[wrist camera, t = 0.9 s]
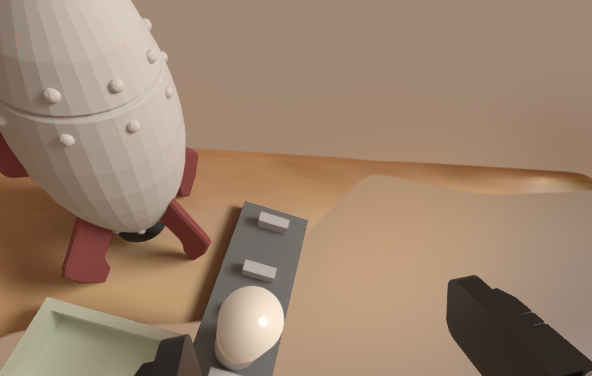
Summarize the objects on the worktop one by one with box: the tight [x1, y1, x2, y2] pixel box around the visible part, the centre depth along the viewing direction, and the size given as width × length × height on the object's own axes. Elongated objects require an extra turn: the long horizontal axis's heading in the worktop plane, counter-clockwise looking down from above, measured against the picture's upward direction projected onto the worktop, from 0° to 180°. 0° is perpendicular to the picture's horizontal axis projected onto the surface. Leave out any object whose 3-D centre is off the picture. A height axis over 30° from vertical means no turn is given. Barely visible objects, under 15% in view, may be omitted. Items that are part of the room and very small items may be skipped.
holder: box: [193, 201, 308, 376], centre depth 28 cm, size 7×27×3 cm, turn 167°
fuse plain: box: [214, 286, 284, 371], centre depth 23 cm, size 4×4×12 cm
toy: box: [0, 0, 211, 283], centre depth 21 cm, size 11×11×30 cm
